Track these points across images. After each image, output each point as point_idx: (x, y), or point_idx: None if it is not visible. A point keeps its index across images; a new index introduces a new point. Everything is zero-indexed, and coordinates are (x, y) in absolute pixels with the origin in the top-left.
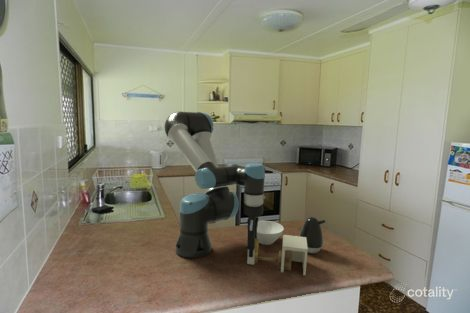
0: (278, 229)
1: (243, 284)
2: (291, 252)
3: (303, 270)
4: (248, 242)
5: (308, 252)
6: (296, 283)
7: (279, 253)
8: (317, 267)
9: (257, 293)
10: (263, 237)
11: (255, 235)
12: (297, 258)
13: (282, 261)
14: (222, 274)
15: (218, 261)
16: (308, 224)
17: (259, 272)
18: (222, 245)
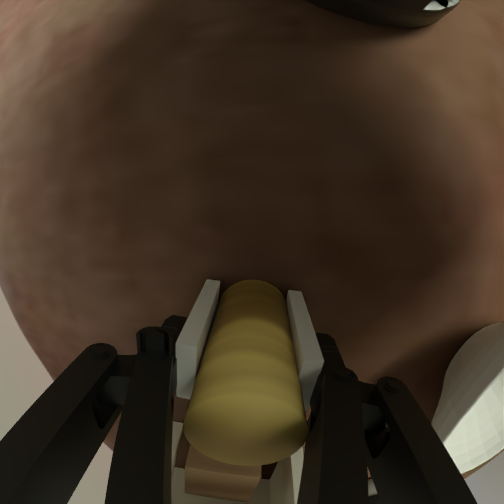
0: (495, 429)
1: (30, 254)
2: (244, 501)
3: (181, 478)
4: (50, 397)
5: None
6: (114, 437)
7: (220, 474)
8: None
9: (11, 306)
10: (447, 403)
11: (303, 472)
12: (274, 481)
13: None
14: (77, 131)
15: (223, 71)
16: None
17: (136, 339)
18: (454, 104)
